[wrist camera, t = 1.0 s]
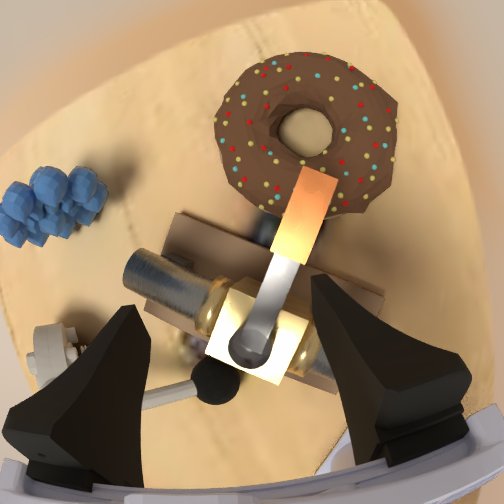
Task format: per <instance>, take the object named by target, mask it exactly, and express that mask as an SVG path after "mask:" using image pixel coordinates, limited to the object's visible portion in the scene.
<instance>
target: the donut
mask: <svg viewBox="0 0 504 504" xmlns="http://www.w3.org/2000/svg"><path fill="white" fill-rule="evenodd" d="M397 106H398V102H397V101H395V100H394V99H393V98H392V97H391V96H390V95H389V94H388V93H386V92H385V91H384V90H383V89H382V88H381V87H379V86H378V85H377V84H376V81H374V80H373V81H372V80H371V79H370V78H369V77H367V76H366V75H365V74H363V73H362V72H361V71H359V70H358V69H357V68H355V67H354V66H352V64H351V63H347V62H345V61H343V60H340V59H338V58H335V57H333V56H330V55H327V54H326V53H325V52H323V53H322V54H318V53H311V52H294V53H285V54H282V55H277V56H274V57H271V58H269V59H266V60H261V61H260V63H257V64H255V65H253V66H252V67H250V68H248V69H246V70H245V71H244V73H243V74H242V75H241V76H240V77H239V78H238V80H237V81H236V82H235V83H234V85H233V86H232V87H231V88H230V89H229V91H228V92H227V93H226V94H225V96H224V101H223V103H222V105H221V107H220V108H219V110H218V111H217V113H216V115H215V118H214V119H213V121H214V129H215V139H216V141H217V144H218V147H219V151H220V157H221V162H222V164H223V167H224V170H225V173H226V176H227V179H228V183H229V184H230V185H232V186H233V187H234V188H235V189H236V190H237V191H238V192H240V193H241V194H242V195H243V196H244V197H245V198H246V199H247V200H249V201H250V202H251V203H253V204H254V205H255V206H256V207H259V208H260V209H261V210H263V211H265V212H267V213H270V214H273V215H275V216H277V217H279V218H280V219H283V216H284V214H285V211H286V208H287V206H288V203H289V201H290V198H291V196H292V193H293V191H294V188H295V185H296V183H297V180H298V178H299V175H300V173H301V170H302V167H303V166H306V167H308V168H311V169H314V170H316V171H319V172H321V173H324V174H326V175H329V176H331V177H334V178H336V179H339V180H338V182H337V185H336V188H335V190H334V193H333V196H332V198H331V201H330V204H329V206H328V209H327V211H326V214H325V217H324V219H323V220H325V219H331V218H336V217H339V216H341V215H343V214H345V213H364V211H365V210H366V208H367V206H368V204H369V203H370V202H371V201H372V200H374V199H375V198H376V197H377V196H379V195H380V194H381V193H382V192H384V191H385V190H386V189H387V188H388V187H390V186H391V180H392V173H393V163H394V162H395V160H396V159H395V157H394V151H395V146H396V141H397V129H396V123H398V122H399V120H398V119H397V118H396V117H397ZM305 107H308V108H311V109H314V110H317V111H320V112H322V113H323V114H324V115H325V116H326V118H327V119H328V120H329V122H330V124H331V126H332V128H333V133H332V142H331V143H330V144H329V146H328V147H327V148H326V149H325V150H324V151H323V152H322V153H321V154H319V155H318V156H315V157H311V158H304V157H300V156H297V155H296V154H294V153H293V152H292V151H291V150H289V149H288V148H287V147H286V146H284V145H283V144H282V143H280V141H279V139H278V134H277V128H278V126H279V124H280V122H281V120H282V118H283V116H285V115H286V114H288V113H290V112H291V111H293V110H294V109H297V108H305Z"/></svg>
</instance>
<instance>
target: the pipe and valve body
mask: <svg viewBox="0 0 504 504" xmlns="http://www.w3.org/2000/svg"><path fill="white" fill-rule="evenodd" d="M193 265H194V261H192V260H190V259H187V258H185V257H183V256H181V255H178V254H176V253H174V252H172V253H166V254H162V255H161V256H159V255H157V254H155V253H153V252H151V251H149V250H146V249H144V248H140V249H138V250H137V251H135V252H134V253H133V255H132V256H131V257H130V259H129V260H128V262H127V264H126V267H125V270H124V273H123V285H124V286H125V287H126V288H127V289H129V290H131V291H133V292H135V293H137V294H139V295H141V296H143V297H144V298H146V299H148V300H150V301H152V302H154V303H156V304H158V305H160V306H162V307H164V308H166V309H168V310H170V311H172V312H174V313H176V314H178V315H180V316H182V317H184V318H186V319H188V320H190V321H193V322H195V331H197V332H199V333H201V334H203V335H205V336H207V337H209V338H210V341H209V344H208V346H207V349H206V352H205V353H206V354H208V355H210V356H212V357H214V358H217V359H219V360H221V361H223V362H225V363H228V364H230V365H232V366H234V367H237V368H239V369H241V370H243V371H246V372H248V373H250V374H253V375H255V376H257V377H260V378H262V379H265V380H267V381H270V382H272V383H274V384H277V385H279V383H280V381H281V379H282V377H283V375H284V373H285V371H288V372H291V373H293V374H296V375H298V376H301V377H304V376H305V375H306V374H307V373H308V372H311V373H314V374H316V375H319V376H322V377H324V378H327V379H330V380H332V381H335V382H336V380H335V377H334V375H333V372H332V370H331V367H330V365H329V362H328V360H327V357H326V355H325V352H324V350H323V347H322V345H321V342H320V340H319V337H318V334H317V330H316V327H315V323H314V319H313V315H312V314H311V313H310V302H308V301H306V300H303V299H301V298H299V297H296V296H294V295H291V294H289V293H288V294H287V296H286V299H285V301H284V303H283V306H282V308H281V310H280V313H279V315H278V317H277V320H276V322H275V324H274V326H273V329H272V331H271V334H272V336H273V340H274V346H273V350H272V352H271V355H270V358H269V360H268V361H267V363H265V364H264V365H263V366H261V367H259V368H256V369H246V368H242V367H240V366H238V365H237V364H236V363H234V362H233V360H232V359H231V358H230V356H229V353H228V342H229V339H230V338H231V336H232V335H233V334H234V332H235V331H236V330H237V329H238V327H240V326H241V325H243V324H245V323H246V322H247V320H248V317H249V315H250V312H251V310H252V308H253V305H254V303H255V300H256V298H257V295H258V293H259V290H260V288H261V286H262V283H263V282H260V281H258V280H256V279H253V278H251V277H248V276H246V277H244V278H243V279H241V280H240V281H239V282H235V281H233V280H231V279H228V278H226V277H224V276H221V275H219V276H218V277H217V278H216V279H215V280H212V279H210V278H208V277H206V276H203V275H201V274H199V273H197V272H194V271H192V268H193Z"/></svg>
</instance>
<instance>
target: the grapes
mask: <svg viewBox="0 0 504 504" xmlns="http://www.w3.org/2000/svg"><path fill="white" fill-rule="evenodd" d="M107 196H108V189H107V186H106V185H105V184H103V183H102V182H100V181H99V180H98V176H97V174H96V173H95V172H94V171H92V170H91V169H88V168H85V167H82V166H76V167H75V168H74V169H73V170H72V171H71V172H70V174H69V176H68V177H67V175H66V174H65V173H64V172H62V171H61V170H60V169H58V168H55V167H52V166H46V167H39V168H38V169H37V170H36V171H35V172H34V173H33V175H32V176H31V178H30V183H29V186H28V185H27V184H24V183H21V182H18V181H15V182H14V183H12V184H11V185H10V187H9V188H8V189H7V190H6V192H5V194H4V196H3V201H2V202H1V203H0V235H2V236H3V237H4V239H5V240H6V241H7V242H8V243H10V244H11V245H13V246H16V247H18V248H21V247H22V245H23V244H24V243H25V241H26V240H28V241H29V242H31V243H32V244H34V245H37V246H40V247H43V245H44V244H45V243H46V241H47V239H48V237H49V235H53V236H56V237H58V236H60V237H63V238H66V239H68V238H69V236H70V235H71V233H72V231H73V229H74V227H75V224H76V222H78V223H79V224H82V225H86V226H90V224H91V223H92V221H93V220H94V218H95V216H96V214H97V213H99V211H100V210H101V209H102V207H103V205H104V204H105V202H106V200H107Z"/></svg>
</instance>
